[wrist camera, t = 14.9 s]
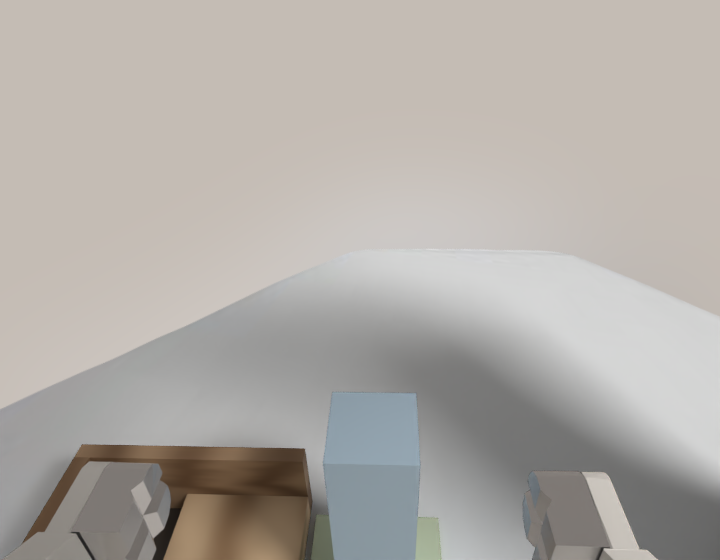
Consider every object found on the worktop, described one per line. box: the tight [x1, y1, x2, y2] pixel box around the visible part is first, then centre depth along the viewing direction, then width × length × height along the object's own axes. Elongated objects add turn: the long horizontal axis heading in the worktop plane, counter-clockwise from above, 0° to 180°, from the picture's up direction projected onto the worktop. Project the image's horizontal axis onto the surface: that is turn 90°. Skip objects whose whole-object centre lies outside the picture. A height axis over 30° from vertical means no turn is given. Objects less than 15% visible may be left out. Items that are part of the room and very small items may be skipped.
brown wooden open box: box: [21, 444, 312, 560], centre depth 37 cm, size 18×13×7 cm
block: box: [323, 392, 420, 560], centre depth 33 cm, size 5×5×17 cm
